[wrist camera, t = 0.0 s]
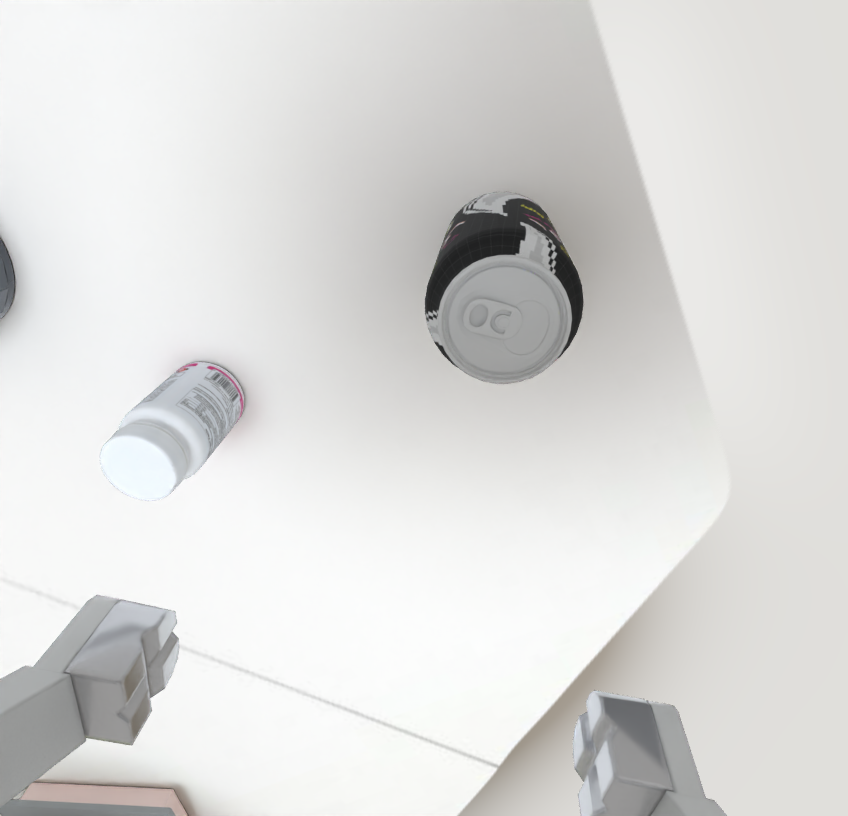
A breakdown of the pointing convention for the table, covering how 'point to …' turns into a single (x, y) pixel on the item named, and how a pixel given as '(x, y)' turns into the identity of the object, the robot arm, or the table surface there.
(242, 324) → the table surface
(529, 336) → the beverage can
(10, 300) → the can holder
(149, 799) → the desk lamp
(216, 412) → the pill bottle
